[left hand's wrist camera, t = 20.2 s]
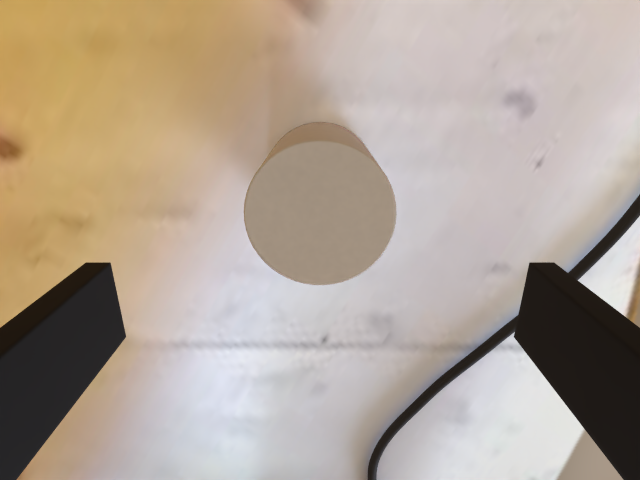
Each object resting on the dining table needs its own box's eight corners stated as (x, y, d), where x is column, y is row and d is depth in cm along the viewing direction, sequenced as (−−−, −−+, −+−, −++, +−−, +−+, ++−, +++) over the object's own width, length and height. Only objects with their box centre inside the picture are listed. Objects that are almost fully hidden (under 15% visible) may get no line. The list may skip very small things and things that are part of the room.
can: (357, 106, 27) (374, 117, 18) (386, 211, 29) (412, 262, 21) (250, 142, 27) (219, 168, 19) (287, 241, 30) (274, 301, 22)
